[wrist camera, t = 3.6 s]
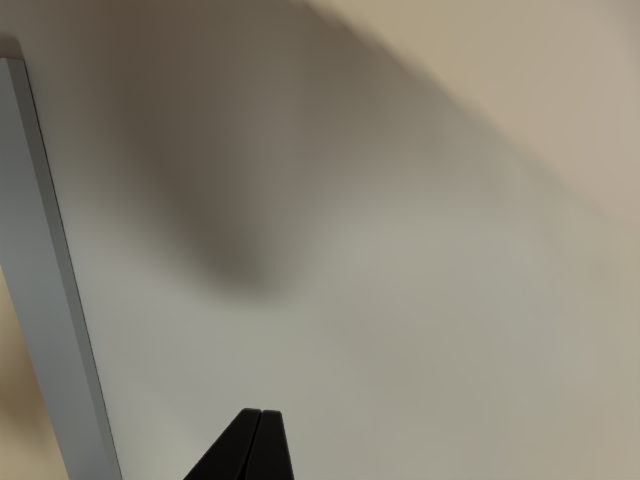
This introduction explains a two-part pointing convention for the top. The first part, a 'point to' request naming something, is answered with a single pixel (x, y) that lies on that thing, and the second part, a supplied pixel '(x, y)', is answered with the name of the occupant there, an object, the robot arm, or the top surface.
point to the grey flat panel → (47, 287)
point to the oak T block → (23, 407)
